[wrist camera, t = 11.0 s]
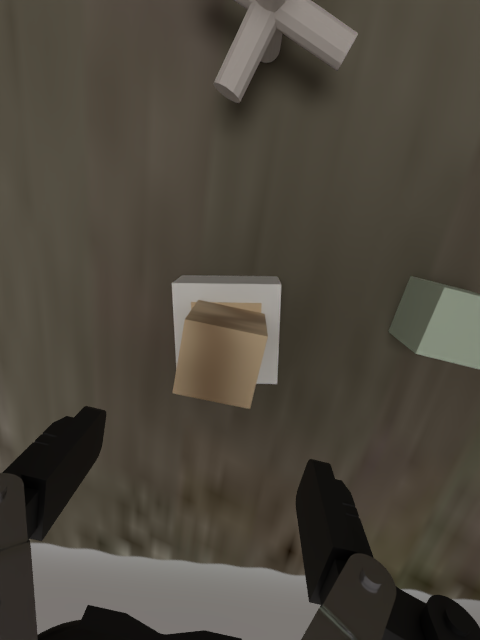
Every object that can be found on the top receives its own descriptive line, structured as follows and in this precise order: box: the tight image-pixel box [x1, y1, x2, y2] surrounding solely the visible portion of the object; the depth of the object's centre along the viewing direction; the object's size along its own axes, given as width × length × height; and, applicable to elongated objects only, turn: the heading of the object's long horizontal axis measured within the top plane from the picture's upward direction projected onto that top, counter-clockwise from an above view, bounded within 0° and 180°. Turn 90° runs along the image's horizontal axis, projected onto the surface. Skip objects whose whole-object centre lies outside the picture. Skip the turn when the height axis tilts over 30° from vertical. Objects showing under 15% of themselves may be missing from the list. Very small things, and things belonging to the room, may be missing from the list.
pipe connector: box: [213, 0, 358, 103], centre depth 18 cm, size 10×10×10 cm
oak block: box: [173, 300, 268, 409], centre depth 22 cm, size 5×5×5 cm
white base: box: [172, 275, 281, 384], centre depth 27 cm, size 8×8×4 cm
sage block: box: [388, 276, 480, 369], centre depth 25 cm, size 5×5×5 cm
